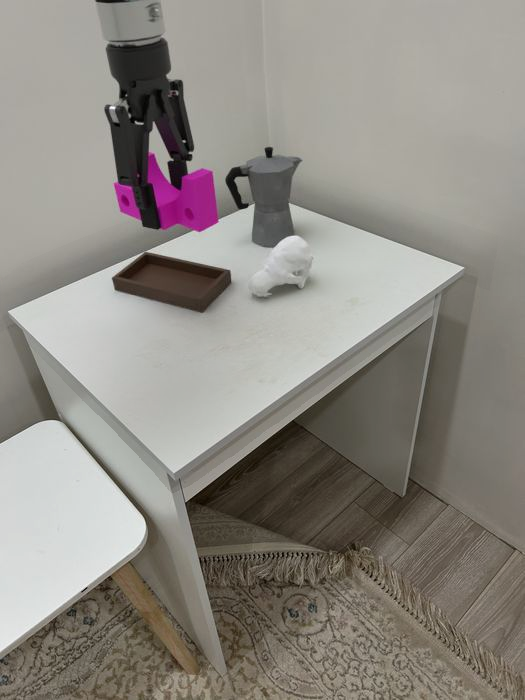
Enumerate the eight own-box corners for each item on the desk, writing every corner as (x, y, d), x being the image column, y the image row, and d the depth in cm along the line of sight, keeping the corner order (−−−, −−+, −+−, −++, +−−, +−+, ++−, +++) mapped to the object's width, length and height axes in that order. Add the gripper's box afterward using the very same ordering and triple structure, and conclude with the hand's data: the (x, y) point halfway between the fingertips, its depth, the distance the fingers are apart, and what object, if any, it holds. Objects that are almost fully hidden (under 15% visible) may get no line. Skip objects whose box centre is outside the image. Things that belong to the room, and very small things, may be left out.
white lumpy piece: (315, 239, 90) (257, 269, 86) (318, 281, 96) (264, 311, 92) (291, 226, 94) (235, 254, 90) (296, 267, 100) (243, 296, 96)
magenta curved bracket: (120, 211, 83) (108, 163, 78) (152, 197, 86) (142, 150, 82) (186, 239, 75) (177, 186, 70) (218, 222, 78) (212, 171, 73)
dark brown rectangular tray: (114, 290, 98) (111, 277, 96) (147, 263, 105) (145, 251, 103) (202, 312, 91) (200, 299, 89) (231, 282, 98) (230, 269, 96)
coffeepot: (292, 220, 116) (290, 133, 104) (312, 238, 109) (312, 148, 97) (224, 237, 111) (214, 148, 100) (241, 257, 105) (232, 165, 93)
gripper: (105, 60, 58) (147, 251, 72) (206, 24, 71) (224, 192, 86) (53, 57, 61) (103, 241, 75) (159, 23, 74) (184, 185, 89)
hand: (167, 215), depth 80 cm, fingers closed on magenta curved bracket, 7 cm apart
